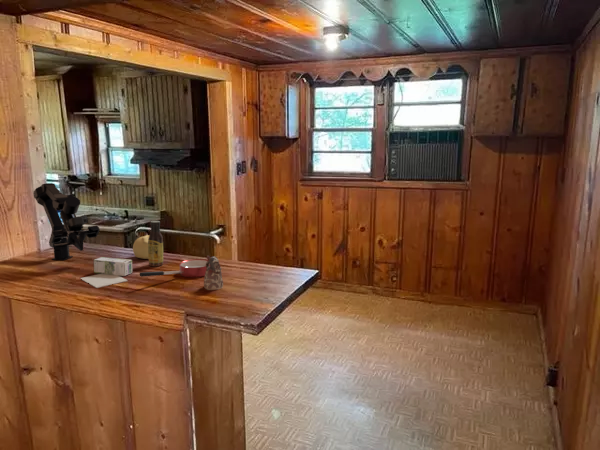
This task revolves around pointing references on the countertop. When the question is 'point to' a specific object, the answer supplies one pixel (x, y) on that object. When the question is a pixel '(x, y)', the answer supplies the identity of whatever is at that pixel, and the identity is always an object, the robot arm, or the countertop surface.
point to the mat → (103, 280)
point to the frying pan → (185, 269)
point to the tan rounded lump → (141, 247)
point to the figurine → (213, 274)
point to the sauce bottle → (155, 245)
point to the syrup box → (113, 266)
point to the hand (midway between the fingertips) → (81, 250)
